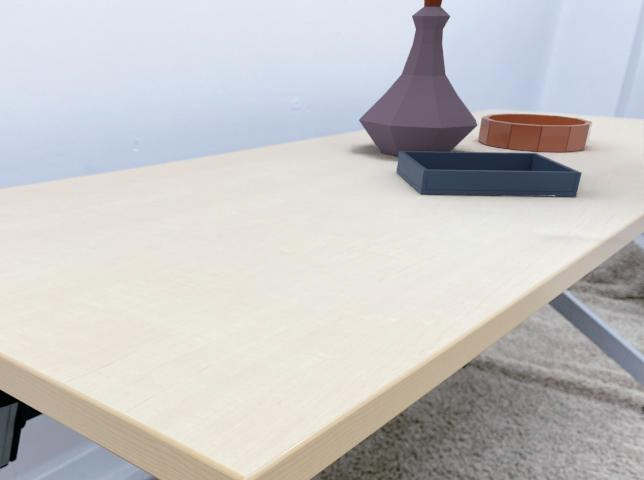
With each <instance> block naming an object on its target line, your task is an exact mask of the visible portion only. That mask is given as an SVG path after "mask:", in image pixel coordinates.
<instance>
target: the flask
mask: <svg viewBox="0 0 644 480" xmlns="http://www.w3.org/2000/svg"><path fill="white" fill-rule="evenodd" d="M442 3H443V0H423V7H422V8H420V9H419V10H418V11H417V12H415V13H414V14H412V15H411V18H412V21H413V25H414V27H415V32H414V36H413V41H412V45H411V47H410V50H409V53H408V55H407V57H406V61H405V64H404V67H403V69H402V71H401V74H400V75H399V76H398V78H397V79H396V80H395V81H394V82H393V83H392V84H391V86H390V87H389V88H388V89H387V91H386V92H385V93H384V94H382V96H381V97H380V98H379V99H378V100H376V102H375V103H374V104H373V105H372V106H371V107H370V108H369V109H367V111H365V113H364V114H363V115H362V116H361V117H360V118H359V119H358V121H359V123H360V124H361V126H362V127H363V129H364V130H365V131H366V133H367V134H368V136H369V137H370V140H372V142H373V143H374V145H375V146H376V148H377V149H378V150H379V152H380V153H382V152H383V154H387V155H391V154H392V155H391V156H395V155H396V156H395V157H398V155H399V151H432V152H453V150H454V149H455V148H456V147H457V146H458V145H459V144H460V143H461V142H462V141H463V140H464V139H465V138H466V137H467V136H469V134H470V133H472V132H473V130H475V129H476V128H477V126H478V123H477V120H476V118H475V116H474V115H473V114H472V112H471V111H470V109H469V108H468V107H467V106H466V104H465V102H464V101H463V100H462V99H461V97H460V96H459V95H458V93H457V91H456V90H455V88H454V86H453V84H452V82H451V81H450V80H449V77H448V76H447V75H446V66H445V65H446V64H445V57H444V48H443V39H444V38H443V35H444V29H445V27H446V25H447V23H448V22H449V19H450V18H451V15H450V14H449V13H448V12H447V11H446V10H445V9H444V8H443V7H442Z"/></svg>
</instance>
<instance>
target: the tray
mask: <svg viewBox="0 0 644 480" xmlns="http://www.w3.org/2000/svg"><path fill="white" fill-rule="evenodd" d="M396 173H397V175H399V176H400V177H401V178H402V179H403V180H404V181H405V182H407V183H408V184H409V186H411V187H412V188H413V189H414V190H415V191H417V192H418V193H419V194H420V195H441V196H442V195H446V196H449V195H450V196H455V195H456V196H501V195H555V196H554V197H561V196H573V197H572V198H576V197H577V195H578V190H579V187H580V182H581V177H582V172H580V171H578V170H576V169H574V168H572V167H570V166H567V165H565V164H563V163H560V162H559V161H555V160H553V159H551V158H549V157H547V156H544V155H542V154H539V153H538V152H501V151H499V152H496V151H495V152H494V151H492V152H491V151H450V152H432V151H399V155H398V156H397V163H396ZM468 194H469V195H468ZM574 196H575V197H574Z"/></svg>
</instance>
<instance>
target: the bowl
mask: <svg viewBox="0 0 644 480" xmlns="http://www.w3.org/2000/svg"><path fill="white" fill-rule="evenodd" d="M592 127H593V121H590V120H587V119H585V118H584V119H583V118H580V117H572V116H566V115H565V116H564V115H555V114H540V113H495V114H486V115H484V116H482V117H481V119H480V126H479V131H478V132H479V133H478V139H477V141H478V142H479V143H482V144H483V145H485V146H490V147H495V148H501V149H505V150H514V151H527V152H535V153H539V152H541V153H567V152H578V151H585V150H586V148H587V147H588V145H589V141H590V135H591V132H592Z"/></svg>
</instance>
